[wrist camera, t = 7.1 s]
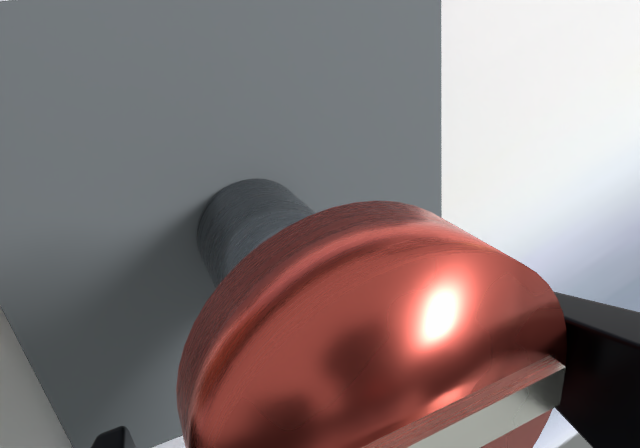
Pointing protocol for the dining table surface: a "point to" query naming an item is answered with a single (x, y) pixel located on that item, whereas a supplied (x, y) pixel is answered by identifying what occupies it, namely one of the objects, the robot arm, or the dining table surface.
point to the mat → (183, 166)
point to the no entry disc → (363, 331)
